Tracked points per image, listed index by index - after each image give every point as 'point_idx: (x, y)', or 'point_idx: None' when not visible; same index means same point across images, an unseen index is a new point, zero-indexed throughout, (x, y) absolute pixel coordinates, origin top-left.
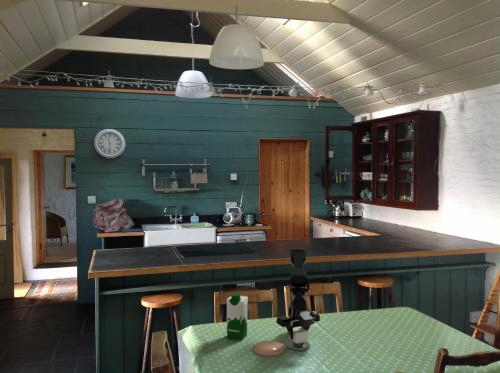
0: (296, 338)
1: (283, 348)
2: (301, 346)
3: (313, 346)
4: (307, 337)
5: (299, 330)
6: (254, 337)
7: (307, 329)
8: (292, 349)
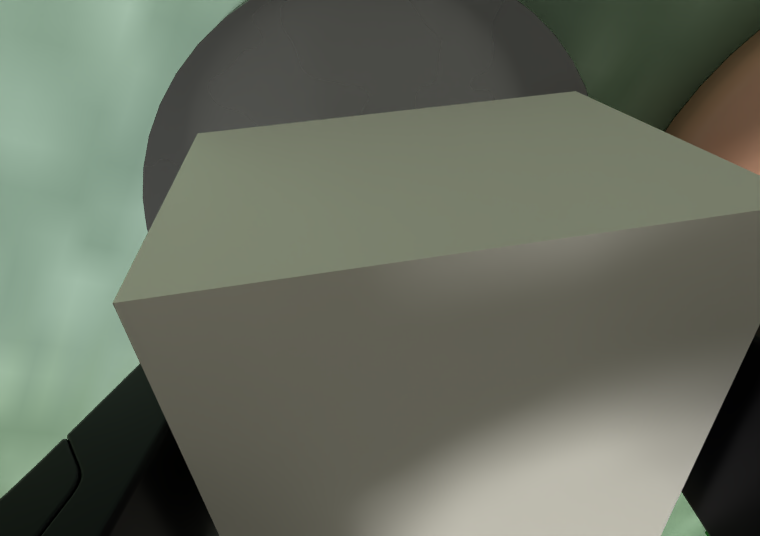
0: (629, 133)
1: (745, 110)
2: (370, 108)
3: (66, 131)
4: (198, 169)
5: (470, 425)
6: (683, 497)
7: (89, 467)
8: (570, 78)
